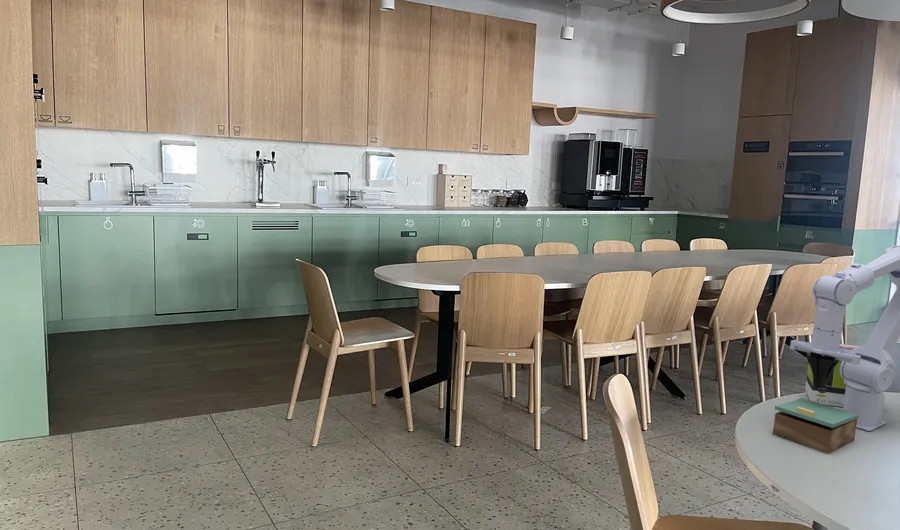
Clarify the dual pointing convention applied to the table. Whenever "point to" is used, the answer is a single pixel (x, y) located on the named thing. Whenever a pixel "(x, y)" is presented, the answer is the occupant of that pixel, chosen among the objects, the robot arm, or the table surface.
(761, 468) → the table surface
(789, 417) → the walnut box
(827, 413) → the lid
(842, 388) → the tea box
